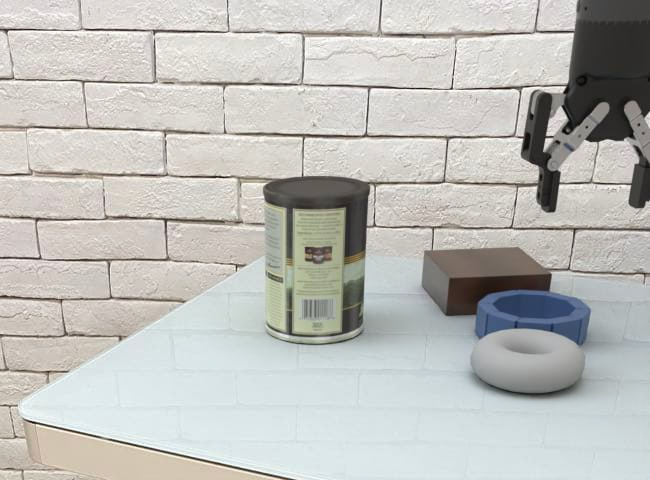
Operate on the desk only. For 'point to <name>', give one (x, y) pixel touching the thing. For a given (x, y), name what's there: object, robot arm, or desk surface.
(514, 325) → the ring
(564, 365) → the donut
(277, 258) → the coffee can
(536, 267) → the platform
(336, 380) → the desk surface
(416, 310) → the desk surface
